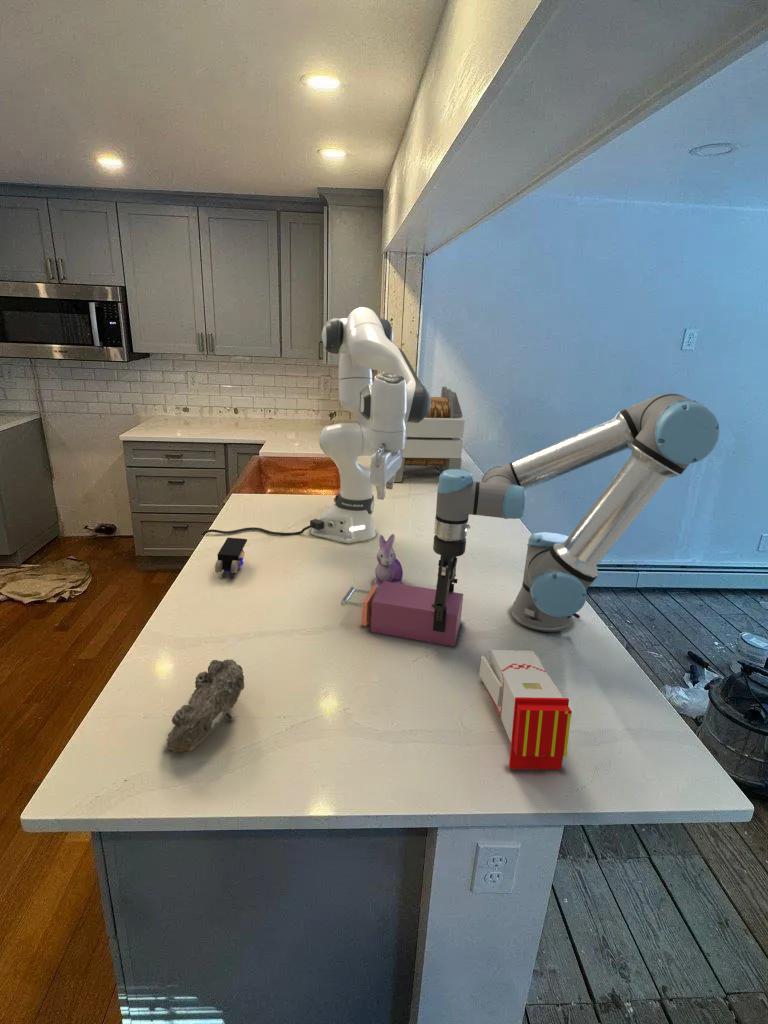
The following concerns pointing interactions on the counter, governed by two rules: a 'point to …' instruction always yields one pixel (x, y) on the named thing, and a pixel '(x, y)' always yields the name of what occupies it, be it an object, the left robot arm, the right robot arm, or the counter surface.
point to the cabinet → (414, 613)
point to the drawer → (366, 603)
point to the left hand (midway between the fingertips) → (385, 493)
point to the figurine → (387, 563)
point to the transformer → (435, 436)
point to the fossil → (206, 705)
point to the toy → (528, 708)
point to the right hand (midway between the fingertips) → (442, 618)
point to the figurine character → (230, 556)
